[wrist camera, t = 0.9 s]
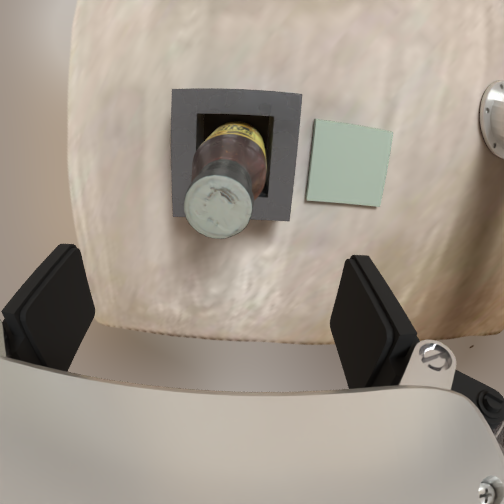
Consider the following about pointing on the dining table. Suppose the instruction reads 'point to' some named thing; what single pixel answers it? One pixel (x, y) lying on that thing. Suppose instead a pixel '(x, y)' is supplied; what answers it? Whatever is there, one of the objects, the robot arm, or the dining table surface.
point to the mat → (348, 163)
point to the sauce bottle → (226, 180)
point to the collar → (247, 103)
